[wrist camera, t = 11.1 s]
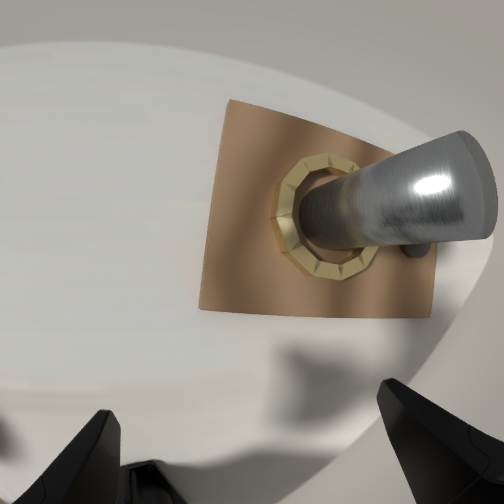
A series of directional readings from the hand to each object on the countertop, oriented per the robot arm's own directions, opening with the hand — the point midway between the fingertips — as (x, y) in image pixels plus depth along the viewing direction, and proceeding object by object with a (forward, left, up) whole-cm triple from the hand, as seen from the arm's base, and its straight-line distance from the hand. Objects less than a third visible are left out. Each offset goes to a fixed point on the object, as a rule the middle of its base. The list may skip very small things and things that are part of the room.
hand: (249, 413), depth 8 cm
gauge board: (+3, -13, -11) cm, 17 cm away
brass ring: (+4, -11, -10) cm, 15 cm away
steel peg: (+4, -11, -10) cm, 15 cm away
